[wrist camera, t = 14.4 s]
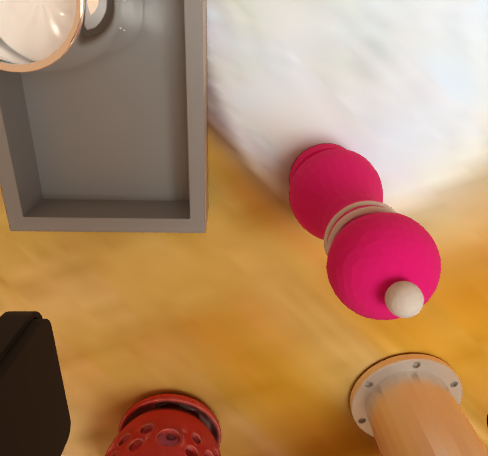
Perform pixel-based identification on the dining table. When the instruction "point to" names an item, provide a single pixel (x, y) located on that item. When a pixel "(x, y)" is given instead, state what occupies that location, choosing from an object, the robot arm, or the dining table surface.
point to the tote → (113, 134)
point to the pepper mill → (363, 235)
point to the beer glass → (64, 32)
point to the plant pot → (167, 429)
